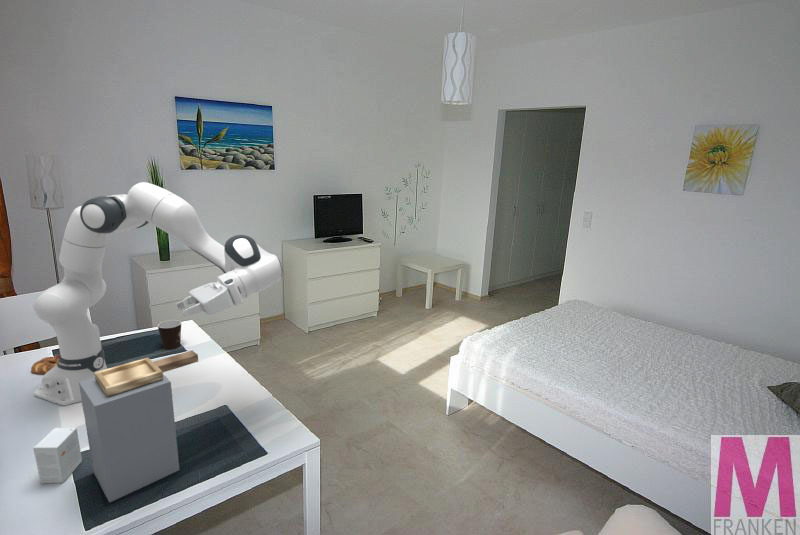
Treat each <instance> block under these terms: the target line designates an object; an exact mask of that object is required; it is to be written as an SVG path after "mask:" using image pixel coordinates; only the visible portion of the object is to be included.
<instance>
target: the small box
mask: <svg viewBox="0 0 800 535" xmlns="http://www.w3.org/2000/svg"><path fill="white" fill-rule="evenodd" d="M33 452H34V457H35V462H36V466H37V472H38V477H39V482H40V483H41V484H60V483H61V484H62V483H65V481H66V480H67V479H69V477H70V476H71V475H72V473H74V471H75V470H76V469H77V468H78V467H79V465H80V464H81V463H82V462H83V458H82V452H81V445H80V440H79V435H78V428H77V427H53V429H52V430H50V431H49V432H48V433H47V434H46V435H45V436H44V437H43V438H42V439H41V440H39V442H38V443H37V444H36V445H35V446H33Z"/></svg>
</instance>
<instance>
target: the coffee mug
mask: <svg viewBox="0 0 800 535" xmlns="http://www.w3.org/2000/svg"><path fill="white" fill-rule="evenodd" d="M157 328H158V333H159V337H160V341H161V345H162V349H163V350H166V351H172V350H177V349H178V348H180V347H181V342H182V341H181V335H182V321H181V320H177V319H169V320H164V321H163V320H162V321H161V322H159V323H158V324H157Z"/></svg>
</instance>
